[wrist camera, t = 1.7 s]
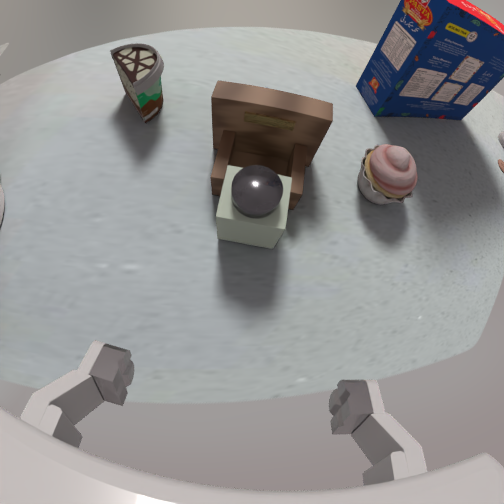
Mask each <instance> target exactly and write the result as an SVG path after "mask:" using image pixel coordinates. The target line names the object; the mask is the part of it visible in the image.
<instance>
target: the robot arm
mask: <svg viewBox="0 0 504 504" xmlns="http://www.w3.org/2000/svg"><path fill="white" fill-rule="evenodd" d="M3 212H4V193H3V190H2V188H1V185H0V225H1V221H2V217H3ZM130 358H131V352H130V350H127V349H123V348H120V347H116V346H113V345H109V344H106V343H103V342H99V341H96V340H95V341H94V342H93V343H92V344H91V346H90V347H89V349H88V351H87V353H86V355H85V356H84V358H83V360H82V362H81V364H80V366H79V368H78V369H77V370H72V371H71V372H69V373H67V374H65V375H64V376H62V377H60V378H59V379H57V380H55V381H53V382H52V383H50V384H48V385H47V386H45V387H43V388H41V389H40V390H38V391H36V392H35V393H33V394H32V396H31V398H30V399H29V401H28V404H27V405H26V407H25V409H24V411H23V413H22V415H21V417H20V418H18V417H17V416H15V415H13V414H12V413H10V412H8V411H7V410H5V409H4V408H2V407H1V406H0V504H504V468H503V466H502V465H501V464H500V463H499V462H498V461H497V460H495V459H494V458H493V457H492V456H490V455H489V454H488V453H481V454H478V455H476V456H473V457H471V458H468V459H465V460H462V461H460V462H457V463H454V464H451V465H448V466H445V467H442V468H439V469H436V470H432V471H429V472H427V468H426V463H425V459H424V455H423V451H422V447H421V445H420V444H419V443H418V442H417V441H416V440H415V439H414V438H413V437H412V436H411V435H410V434H409V433H408V432H407V431H406V430H405V429H404V428H403V427H402V426H401V425H400V424H399V423H398V422H397V421H396V420H395V419H394V418H393V417H392V416H391V415H390V414H389V413H385V409H384V405H383V401H382V397H381V393H380V390H379V387H378V383H377V381H376V380H341V381H339V383H338V384H337V386H338V388H337V389H335V390H334V391H333V392H332V394H331V396H330V399H329V411H330V412H331V414H332V415H333V418H332V419H331V428H332V434H351V436H352V437H353V439H354V440H355V442H356V443H357V444H358V446H359V447H360V448H361V450H362V451H363V453H364V454H365V455H366V457H367V458H368V459H369V461H370V462H371V463H372V465H373V466H372V467H371V468H369V469H368V470H366V471H365V472H364V473H363V483H364V486H357V487H349V488H339V489H328V490H311V491H264V490H248V489H236V488H227V487H219V486H211V485H205V484H198V483H192V482H187V481H182V480H177V479H172V478H168V477H164V476H160V475H156V474H152V473H148V472H145V471H141V470H137V469H134V468H131V467H128V466H124V465H121V464H118V463H115V462H112V461H110V460H107V459H104V458H101V457H99V456H96V455H93V454H91V453H88V452H86V451H84V450H81V449H79V445H80V442H81V439H82V435H81V433H80V432H79V431H78V430H77V429H76V428H75V426H74V425H75V424H77V423H78V422H79V421H80V420H82V419H83V418H84V417H85V416H87V415H88V414H89V413H90V412H91V411H93V410H94V409H95V408H97V406H99V405H100V404H101V403H103V402H104V401H108V402H111V403H114V404H118V405H121V406H123V404H124V401H125V399H126V396H127V393H128V392H127V390H126V387H127V386H129V385H130V384H131V382H132V380H133V376H134V364H133V362H132V361H131V360H130Z"/></svg>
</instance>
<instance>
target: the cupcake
mask: <svg viewBox="0 0 504 504" xmlns="http://www.w3.org/2000/svg"><path fill="white" fill-rule="evenodd" d="M417 177H418V176H417V171H416V164H415V161H414V159H413V157H412V156H411V154H410V153H409V152H408V150H407V149H405V148H403V147H400V146H393V145H389V144H384V145H375V147H374V149H370V148H368V149H366V151H365V157H363V158H362V160H361V169H360V172H359V175H358V186H359V189H360V191H361V193H362V194H363V195H364V197H365V198H366V199H368V200H369V201H370V202H372V203H375V204H379V205H382V204H387V203H391V202H398V203H403V201H404V199H405V198H410V197H412V196H413V194H412V190H413V189H414V187H415V186H416V183H417Z"/></svg>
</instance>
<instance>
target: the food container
mask: <svg viewBox="0 0 504 504" xmlns="http://www.w3.org/2000/svg"><path fill="white" fill-rule="evenodd" d="M110 51H111V55H112V58H113V60H114V63H115V65H116V68H117V71H118V74H119V76H120V79H121V82H122V84H123V87H124V90H125V92H126V94H127V96H128V98H129V99H130V101H131V102H132V104H133V105H134V107H135V109H136V110H137V112H138V113H139V115H140V116H141V118H142V120H143V121H144V123H147V122H148V121H150V120H152V119H153V118H154V117H155V116H156V115H157V114H158V113H159V111H160V109H161V108H162V104H163V94H162V85H161V74H162V72H163V68H164V63H163V60H162V58H161V56H160V54H159V53H158V51H156V50H155V49H154V48H153V47H152V46H150V45H146V44H128V45H124V46H120V47H117V48H115V49H113V50H110Z"/></svg>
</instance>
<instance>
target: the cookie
mask: <svg viewBox="0 0 504 504" xmlns="http://www.w3.org/2000/svg"><path fill="white" fill-rule="evenodd" d="M498 164H499V167H500V169H501V170H502V171H503V172H504V162H503V161H502V160H501V159H499V160H498Z"/></svg>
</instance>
